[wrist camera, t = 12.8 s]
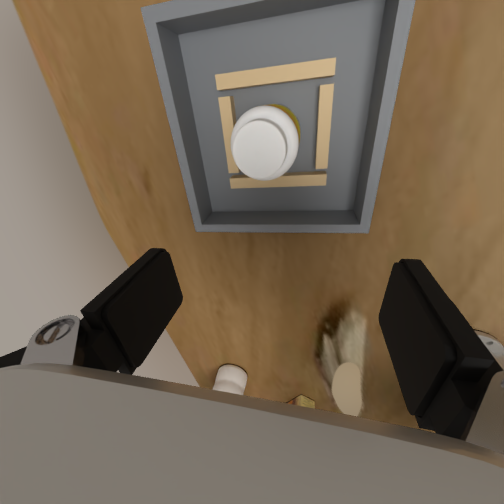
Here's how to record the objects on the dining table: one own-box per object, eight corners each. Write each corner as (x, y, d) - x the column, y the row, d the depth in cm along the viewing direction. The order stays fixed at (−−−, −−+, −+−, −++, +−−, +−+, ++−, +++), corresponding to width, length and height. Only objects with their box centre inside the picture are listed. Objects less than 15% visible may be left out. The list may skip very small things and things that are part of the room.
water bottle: (254, 376, 54) (222, 545, 33) (232, 382, 57) (192, 539, 37) (233, 360, 52) (186, 530, 31) (213, 367, 55) (158, 525, 35)
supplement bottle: (261, 93, 23) (235, 89, 15) (310, 118, 23) (313, 128, 15) (242, 148, 26) (212, 171, 18) (285, 169, 27) (276, 201, 18)
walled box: (399, -21, 18) (426, -57, 14) (359, 214, 29) (368, 233, 25) (170, 25, 22) (140, 7, 18) (209, 215, 33) (196, 231, 29)
